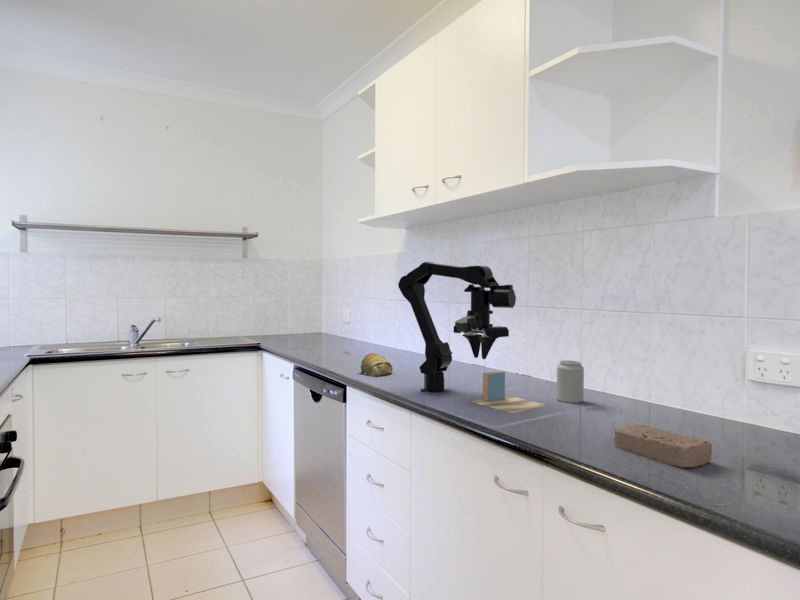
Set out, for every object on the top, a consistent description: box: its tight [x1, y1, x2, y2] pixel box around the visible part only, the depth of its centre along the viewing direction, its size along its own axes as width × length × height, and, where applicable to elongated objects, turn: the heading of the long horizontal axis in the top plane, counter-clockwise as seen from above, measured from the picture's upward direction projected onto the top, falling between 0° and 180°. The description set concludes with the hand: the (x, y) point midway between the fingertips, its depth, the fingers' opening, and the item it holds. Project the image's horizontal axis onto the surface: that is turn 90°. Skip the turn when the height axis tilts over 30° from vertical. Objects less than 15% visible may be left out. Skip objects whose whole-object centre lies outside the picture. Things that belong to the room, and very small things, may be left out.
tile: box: [482, 370, 506, 402], centre depth 147 cm, size 2×7×8 cm, turn 124°
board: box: [470, 394, 550, 414], centre depth 142 cm, size 16×15×1 cm
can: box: [556, 360, 585, 404], centre depth 146 cm, size 8×8×12 cm
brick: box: [613, 423, 713, 468], centre depth 101 cm, size 17×8×5 cm, turn 29°
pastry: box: [360, 352, 393, 377], centre depth 194 cm, size 14×12×8 cm
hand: (480, 358), depth 152 cm, fingers open, 3 cm apart
